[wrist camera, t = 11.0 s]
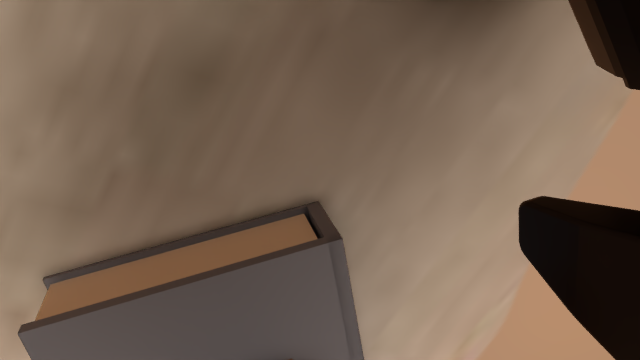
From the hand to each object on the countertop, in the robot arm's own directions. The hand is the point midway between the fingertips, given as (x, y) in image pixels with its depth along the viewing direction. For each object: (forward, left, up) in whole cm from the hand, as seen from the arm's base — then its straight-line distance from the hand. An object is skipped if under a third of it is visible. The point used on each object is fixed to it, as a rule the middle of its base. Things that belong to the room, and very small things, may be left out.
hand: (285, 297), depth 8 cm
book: (+3, +13, -13) cm, 19 cm away
